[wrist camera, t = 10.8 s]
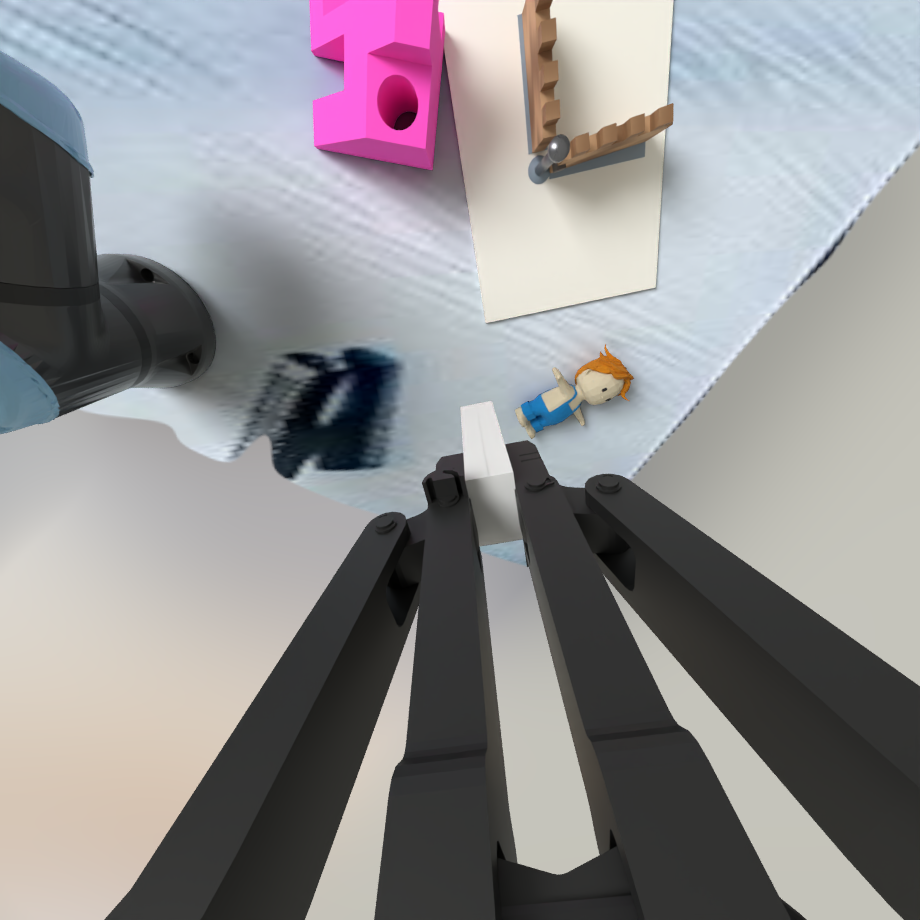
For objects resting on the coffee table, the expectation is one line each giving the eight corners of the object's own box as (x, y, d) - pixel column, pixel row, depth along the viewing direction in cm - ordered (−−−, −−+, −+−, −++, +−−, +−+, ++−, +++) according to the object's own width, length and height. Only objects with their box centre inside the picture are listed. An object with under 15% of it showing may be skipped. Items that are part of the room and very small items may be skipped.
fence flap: (548, 177, 38) (566, 161, 32) (545, 156, 37) (563, 136, 31) (646, 144, 37) (682, 122, 31) (645, 122, 36) (683, 95, 30)
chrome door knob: (531, 182, 38) (550, 163, 31) (530, 161, 37) (548, 137, 30) (548, 178, 38) (570, 158, 31) (547, 157, 37) (569, 131, 30)
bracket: (445, 30, 33) (437, -61, 24) (432, 170, 38) (422, 139, 29) (313, 2, 32) (253, -103, 23) (317, 148, 37) (269, 110, 28)
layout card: (485, 322, 45) (485, 323, 45) (433, -18, 32) (433, -22, 31) (654, 287, 44) (656, 287, 43) (676, -87, 30) (679, -92, 30)
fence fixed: (543, 150, 37) (561, 129, 31) (532, 153, 37) (547, 132, 31) (534, 10, 32) (553, -45, 27) (521, 14, 32) (537, -41, 27)
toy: (508, 411, 44) (629, 346, 39) (498, 381, 48) (607, 318, 43) (543, 458, 53) (647, 409, 48) (532, 429, 57) (627, 381, 51)
